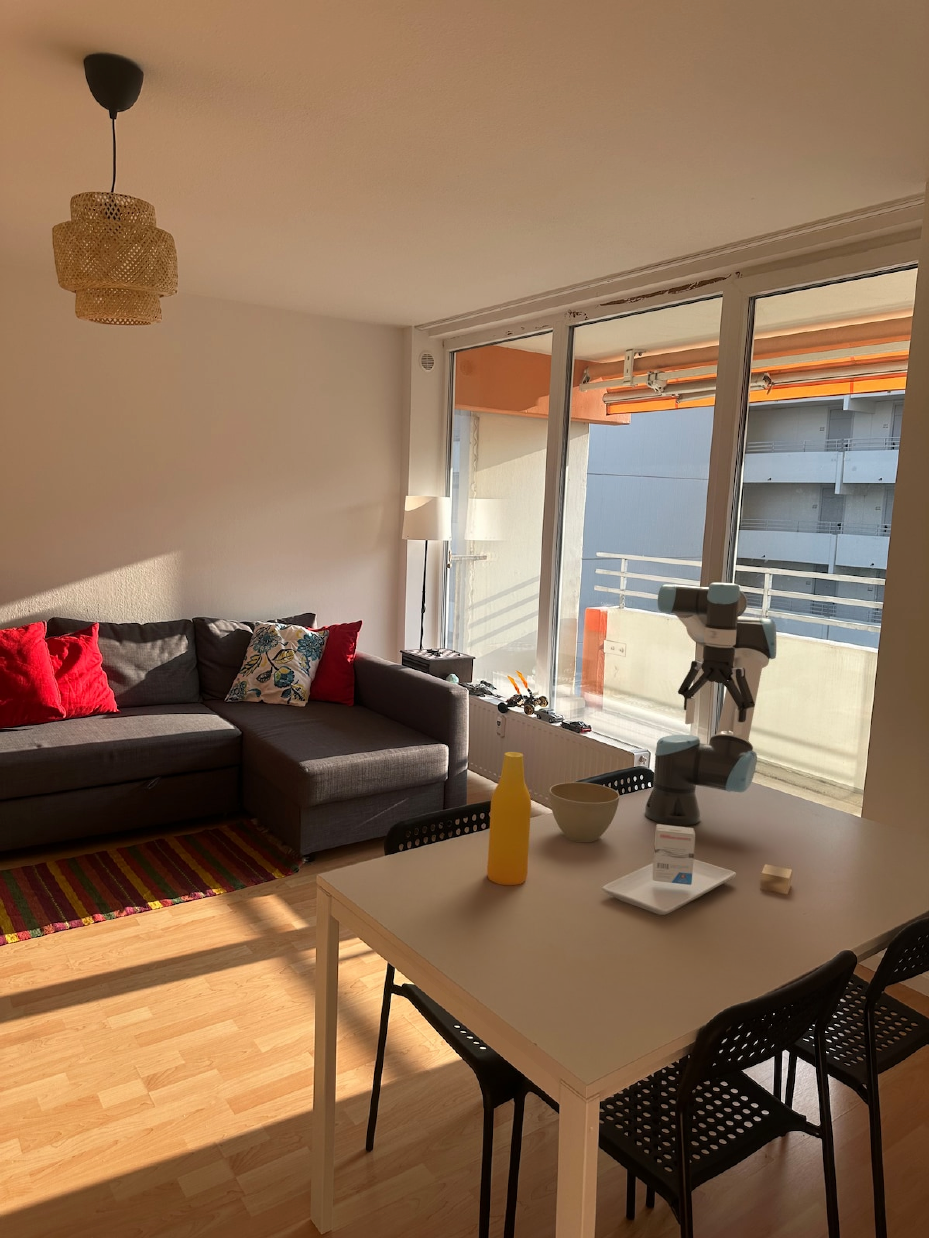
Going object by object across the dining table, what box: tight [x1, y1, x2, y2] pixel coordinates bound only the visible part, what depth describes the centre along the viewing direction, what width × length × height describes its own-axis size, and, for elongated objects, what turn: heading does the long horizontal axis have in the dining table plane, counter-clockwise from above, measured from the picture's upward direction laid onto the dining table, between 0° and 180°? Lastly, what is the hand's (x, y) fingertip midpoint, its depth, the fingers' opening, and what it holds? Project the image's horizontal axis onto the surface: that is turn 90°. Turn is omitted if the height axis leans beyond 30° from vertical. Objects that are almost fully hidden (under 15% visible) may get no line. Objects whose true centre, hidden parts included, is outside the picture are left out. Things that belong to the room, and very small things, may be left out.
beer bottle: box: [486, 751, 532, 886], centre depth 202 cm, size 9×9×29 cm
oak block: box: [760, 863, 793, 895], centre depth 205 cm, size 6×6×4 cm
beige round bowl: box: [549, 781, 620, 843], centre depth 232 cm, size 18×18×12 cm
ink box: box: [652, 823, 696, 885], centre depth 199 cm, size 8×5×12 cm, turn 79°
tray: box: [601, 858, 737, 916], centre depth 200 cm, size 17×31×4 cm, turn 136°
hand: (712, 729), depth 223 cm, fingers open, 13 cm apart
